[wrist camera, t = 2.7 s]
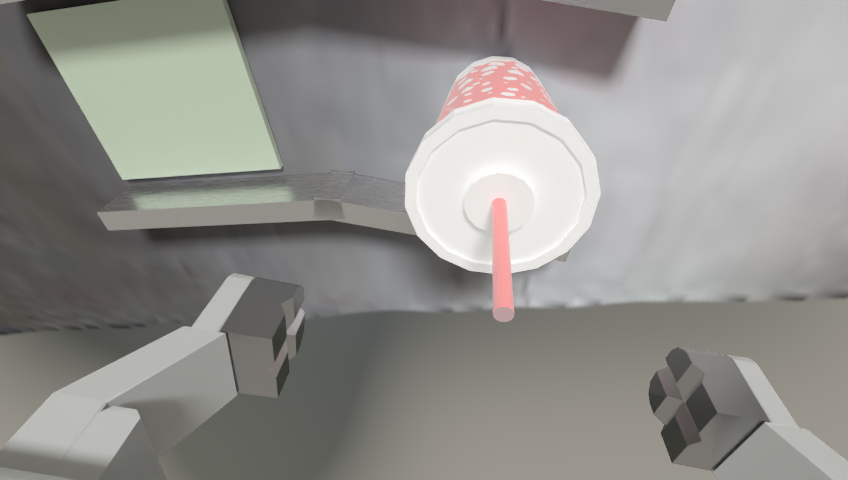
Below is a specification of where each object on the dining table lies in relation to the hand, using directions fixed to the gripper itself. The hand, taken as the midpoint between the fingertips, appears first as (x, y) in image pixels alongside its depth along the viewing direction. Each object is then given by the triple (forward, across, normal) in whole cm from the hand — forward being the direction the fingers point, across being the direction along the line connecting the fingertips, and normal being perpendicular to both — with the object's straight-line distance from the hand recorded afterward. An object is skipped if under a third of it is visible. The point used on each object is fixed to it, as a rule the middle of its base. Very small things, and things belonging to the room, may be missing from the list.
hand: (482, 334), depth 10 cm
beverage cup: (+15, -1, -1) cm, 15 cm away
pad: (+15, +16, +2) cm, 22 cm away
